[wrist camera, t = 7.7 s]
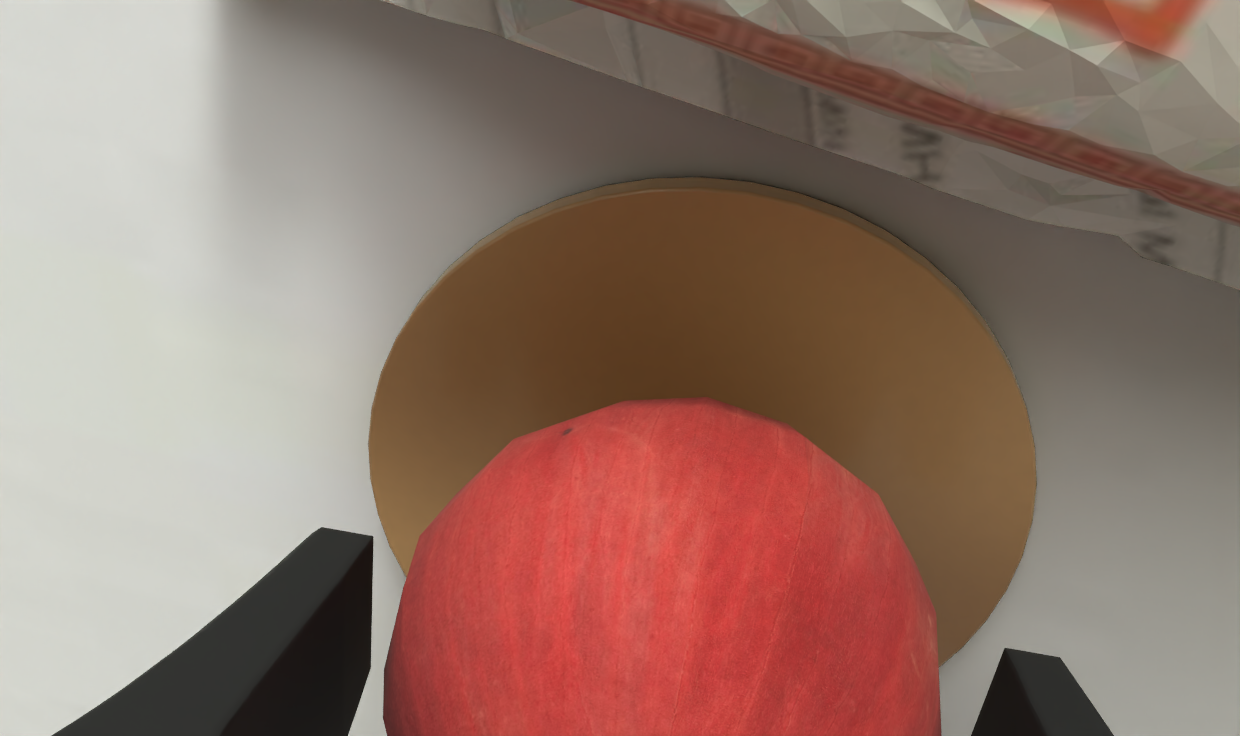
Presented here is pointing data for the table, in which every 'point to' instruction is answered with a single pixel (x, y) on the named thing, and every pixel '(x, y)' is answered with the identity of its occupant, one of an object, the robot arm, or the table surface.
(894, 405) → the coaster
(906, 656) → the onion
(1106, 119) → the packaged product
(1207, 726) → the table surface
